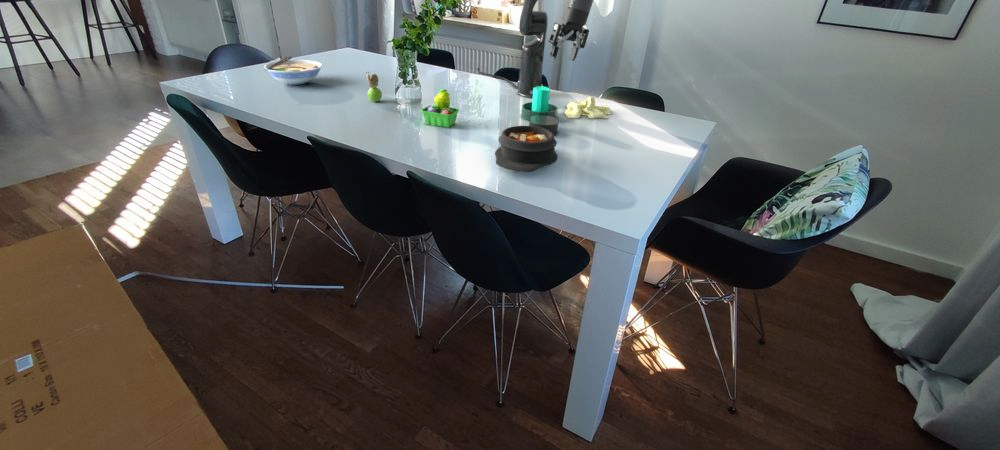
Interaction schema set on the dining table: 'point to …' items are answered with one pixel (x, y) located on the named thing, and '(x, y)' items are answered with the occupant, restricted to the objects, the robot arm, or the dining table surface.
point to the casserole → (526, 148)
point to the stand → (545, 123)
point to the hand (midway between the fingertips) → (562, 59)
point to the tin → (529, 113)
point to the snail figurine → (373, 88)
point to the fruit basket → (440, 111)
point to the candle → (540, 99)
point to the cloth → (586, 109)
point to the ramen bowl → (293, 70)
